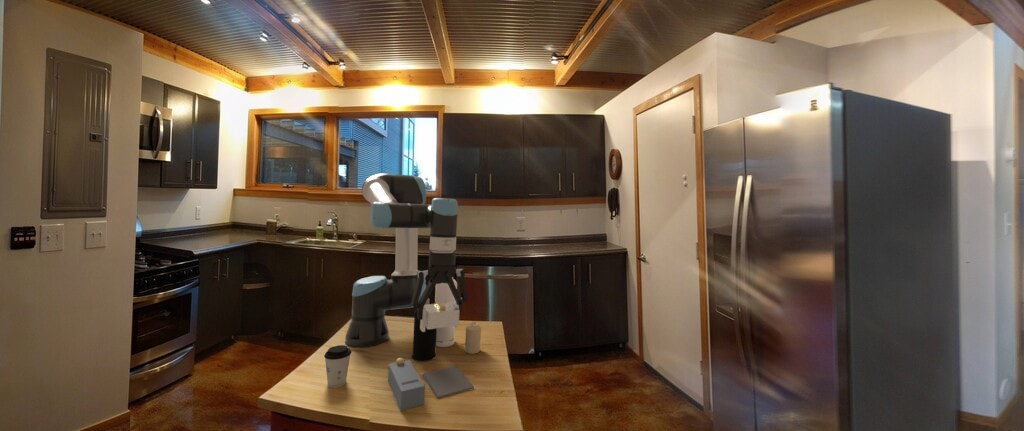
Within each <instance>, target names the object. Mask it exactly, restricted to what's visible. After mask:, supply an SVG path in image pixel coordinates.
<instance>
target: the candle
mask: <svg viewBox="0 0 1024 431" xmlns="http://www.w3.org/2000/svg"><path fill="white" fill-rule="evenodd" d="M481 335H482V327H481V325H480V324H479V323H477V322H475V321H472V322H470V323H469V324H468V325H466V327H465V339H464V340H465V342H464V352H465V353H467V354H471V355H473V354H474V355H475V354H477V353H480V350H481V337H482V336H481Z"/></svg>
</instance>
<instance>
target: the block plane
mask: <svg viewBox="0 0 1024 431" xmlns="http://www.w3.org/2000/svg"><path fill="white" fill-rule="evenodd" d="M387 381H388V384H389V386H390V389H391V391H392V395H393V396H394V398H395V401H396V404H397V405H398V409H399V411H400V412H402V411H406V410H409V409H413V408H416V407H419V406H423V405H425V395H426V393H425V392H426V391H425V390H426V389H425V388H426V385H425V384H424V382H423V380H422V379H421V377H420V375H419V373H418V372H417V370H416V368H415V367H414V366H413V364H412V362H411V361H410V359H408V360H405V359H404V358H403V357H398V358H396V362H393V363H388V373H387Z"/></svg>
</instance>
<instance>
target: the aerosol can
mask: <svg viewBox="0 0 1024 431" xmlns="http://www.w3.org/2000/svg"><path fill="white" fill-rule="evenodd" d="M430 300H431V299H430V297H429V298H428V300H427V301H426V303H425V305H428V304H430ZM415 308H416V309H415V310H414V311H413V314H414V315H413V316H414V318H413V319H414V320H413V336H412V337H413V339H412V341H413V342H412V354H411V359H412V360H414V361H416V362H430V361H432V360H434V359H435V358H436V357H437V352H436V349H437V346H436V341H437V340H436V333H437V328H435V329H427V328H426V327H425V332H422V331H421V329H420V320H419V319H418V318H417V307H415Z"/></svg>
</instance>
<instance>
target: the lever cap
mask: <svg viewBox="0 0 1024 431" xmlns="http://www.w3.org/2000/svg"><path fill="white" fill-rule="evenodd" d="M424 307H425V308H426V319H425V327H426V328H427V329H435V328H442V327H449V326H456V325H458V326H459V325H460V315H459V309H458V308H457V307H456V306H454V305H453V304H452V303H451V302H447V303H441V302H435V301H434V303H431V304H430V303H429V304H428V305H424Z"/></svg>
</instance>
